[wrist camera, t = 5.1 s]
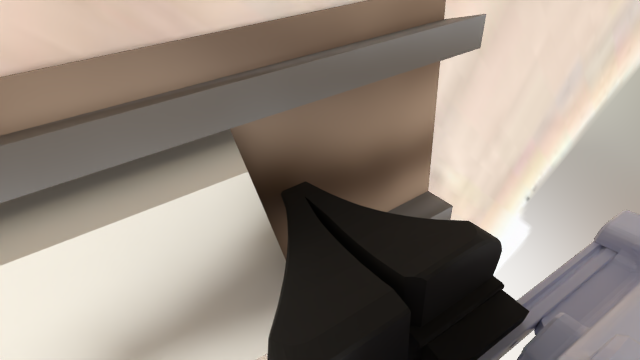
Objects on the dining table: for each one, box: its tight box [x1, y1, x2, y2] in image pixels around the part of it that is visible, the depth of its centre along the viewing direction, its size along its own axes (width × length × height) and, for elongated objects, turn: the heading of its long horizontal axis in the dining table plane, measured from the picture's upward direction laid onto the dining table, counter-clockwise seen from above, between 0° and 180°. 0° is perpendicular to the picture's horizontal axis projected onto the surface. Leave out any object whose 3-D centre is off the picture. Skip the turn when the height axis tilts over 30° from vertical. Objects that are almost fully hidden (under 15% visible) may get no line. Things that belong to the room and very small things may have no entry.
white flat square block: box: [0, 129, 286, 360], centre depth 8 cm, size 8×8×4 cm
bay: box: [0, 0, 486, 260], centre depth 10 cm, size 14×24×5 cm, turn 102°
